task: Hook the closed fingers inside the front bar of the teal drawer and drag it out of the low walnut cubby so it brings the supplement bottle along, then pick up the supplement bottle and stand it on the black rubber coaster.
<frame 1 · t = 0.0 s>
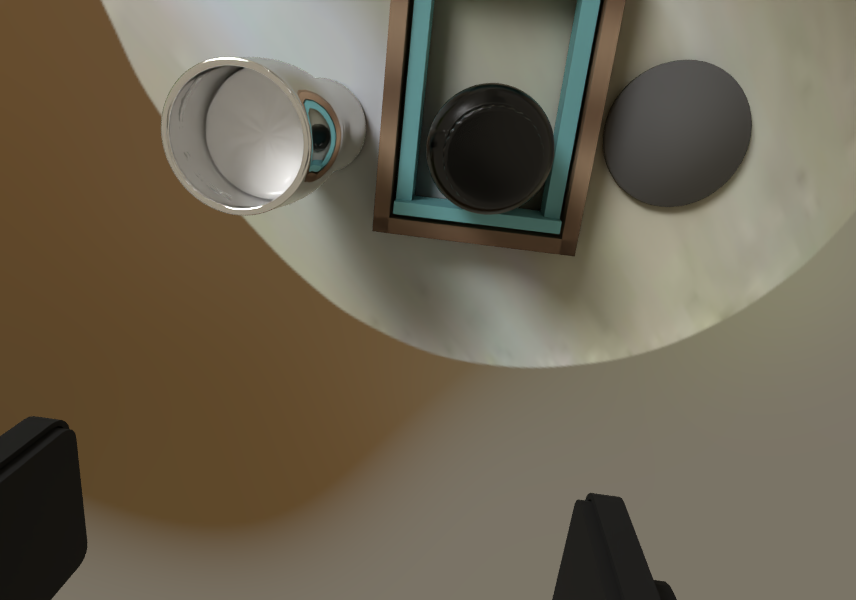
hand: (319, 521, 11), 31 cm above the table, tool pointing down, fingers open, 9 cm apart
supplement bottle: (485, 140, 38), on the table
coaster: (674, 135, 37), on the table
beer glass: (322, 126, 39), on the table
teal drawer: (494, 86, 35), point 2 cm above the table, slide at 0.0 cm
walnut cubby: (491, 98, 37), on the table
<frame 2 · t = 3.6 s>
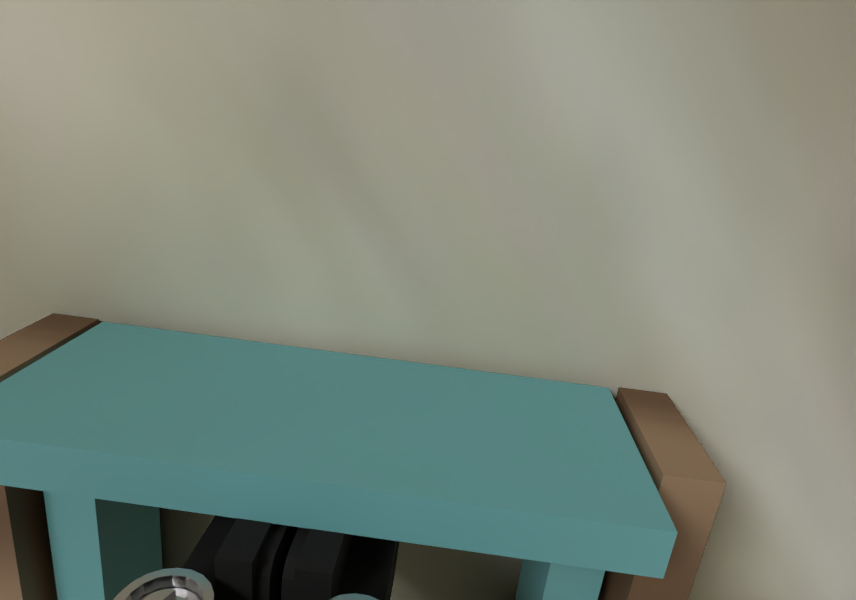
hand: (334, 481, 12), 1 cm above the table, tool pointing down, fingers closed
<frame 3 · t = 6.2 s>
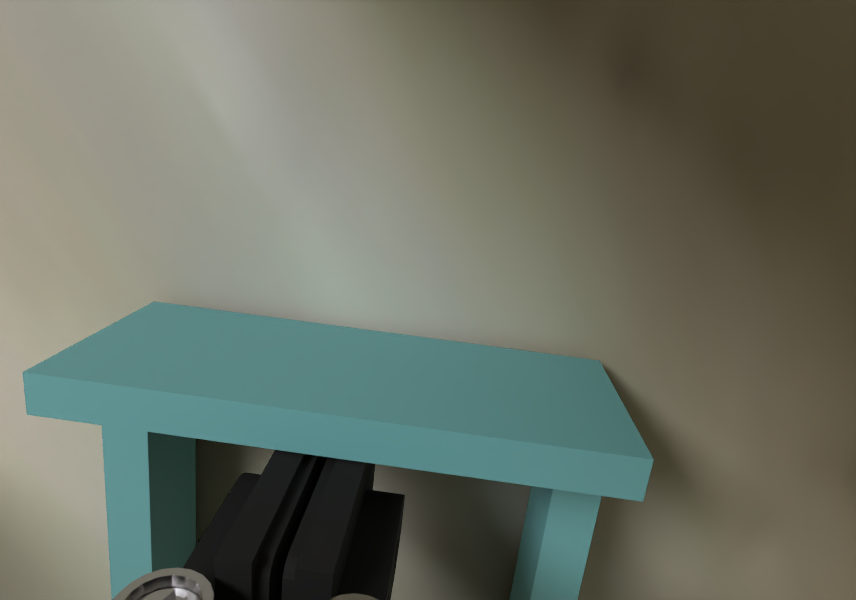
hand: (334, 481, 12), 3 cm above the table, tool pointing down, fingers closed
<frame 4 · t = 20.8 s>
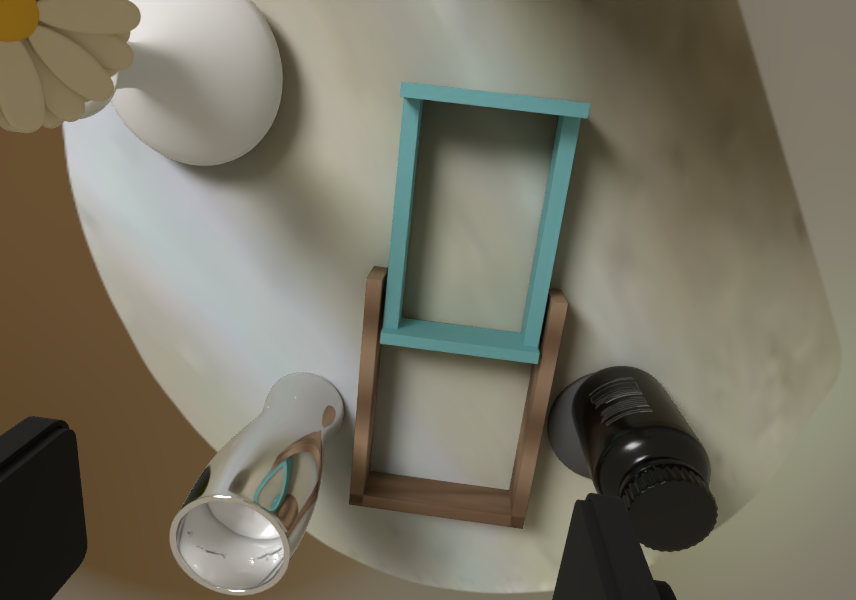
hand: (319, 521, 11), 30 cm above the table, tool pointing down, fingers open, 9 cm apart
supplement bottle: (617, 404, 42), on the table, touching coaster
coaster: (608, 424, 43), on the table
beer glass: (306, 406, 45), on the table
teal drawer: (475, 229, 37), point 2 cm above the table, slide at 12.3 cm
walnut cubby: (451, 391, 43), on the table
flower in vase: (214, 65, 37), on the table
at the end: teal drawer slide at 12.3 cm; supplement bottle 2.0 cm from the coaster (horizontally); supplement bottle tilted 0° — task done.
